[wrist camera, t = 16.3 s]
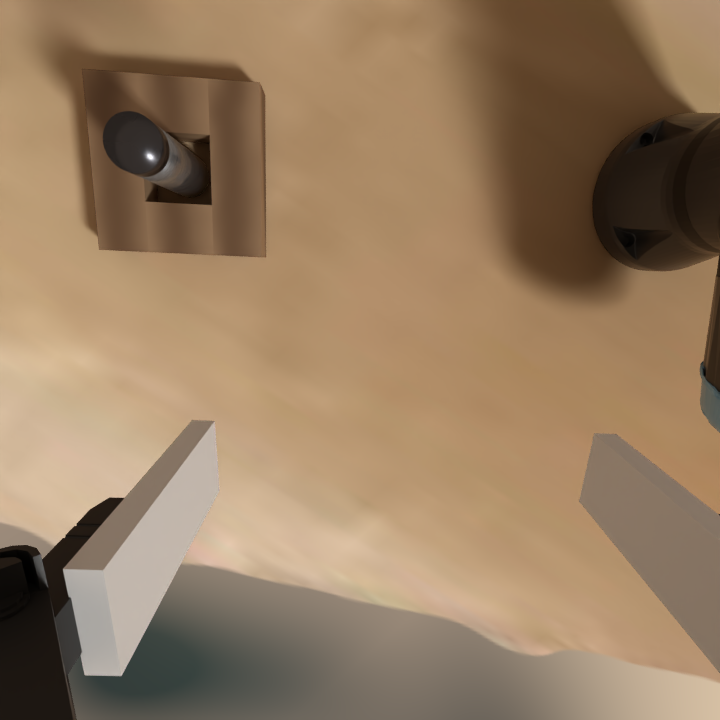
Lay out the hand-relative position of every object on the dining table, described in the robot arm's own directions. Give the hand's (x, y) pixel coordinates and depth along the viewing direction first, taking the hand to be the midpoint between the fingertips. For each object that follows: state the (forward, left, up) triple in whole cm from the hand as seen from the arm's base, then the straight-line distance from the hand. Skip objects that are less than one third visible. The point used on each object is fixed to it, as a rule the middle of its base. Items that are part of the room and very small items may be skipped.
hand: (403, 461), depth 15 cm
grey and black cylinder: (+17, -14, -32) cm, 39 cm away
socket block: (+17, -14, -32) cm, 39 cm away
